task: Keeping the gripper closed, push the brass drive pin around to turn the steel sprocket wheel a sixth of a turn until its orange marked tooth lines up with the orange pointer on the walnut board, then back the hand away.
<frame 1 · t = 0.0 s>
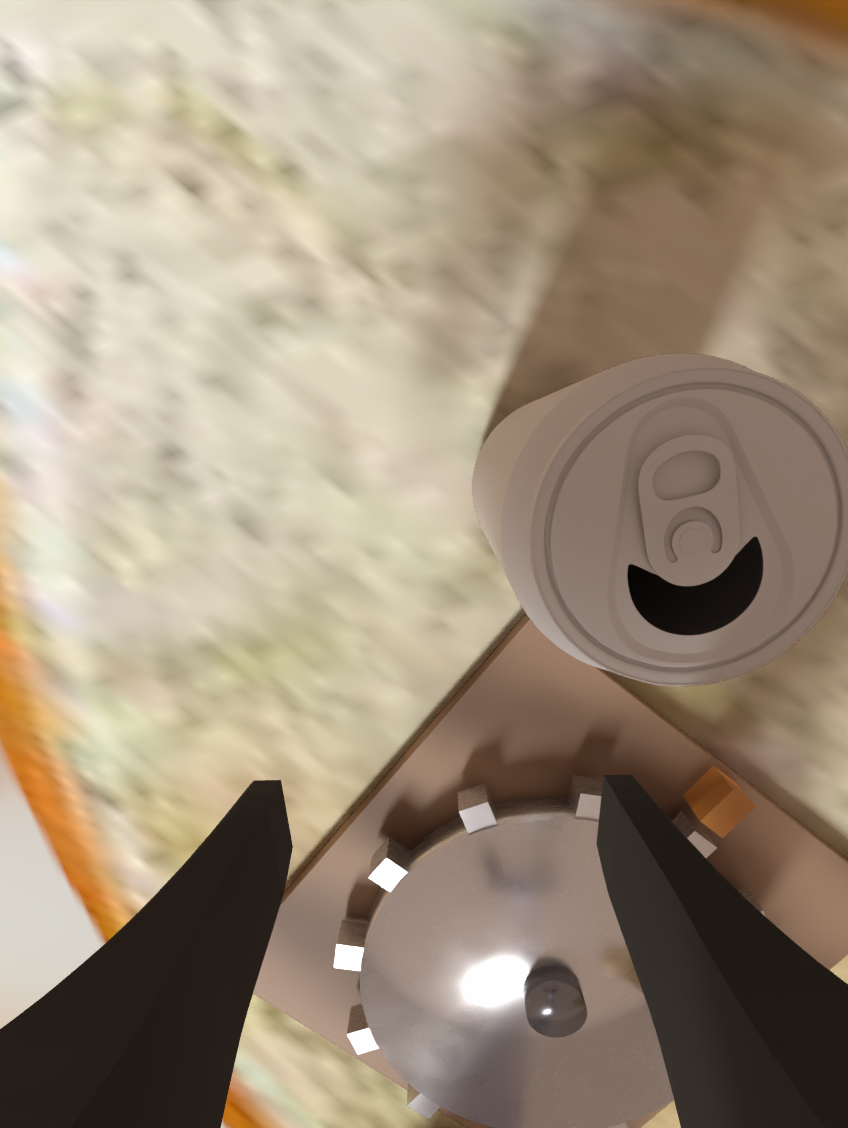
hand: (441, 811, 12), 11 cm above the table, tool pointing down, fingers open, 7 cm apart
beverage can: (553, 483, 21), on the table
walnut board: (540, 933, 26), on the table
sprocket wheel: (558, 1020, 22), point 4 cm above the table, hinge at 0.0°
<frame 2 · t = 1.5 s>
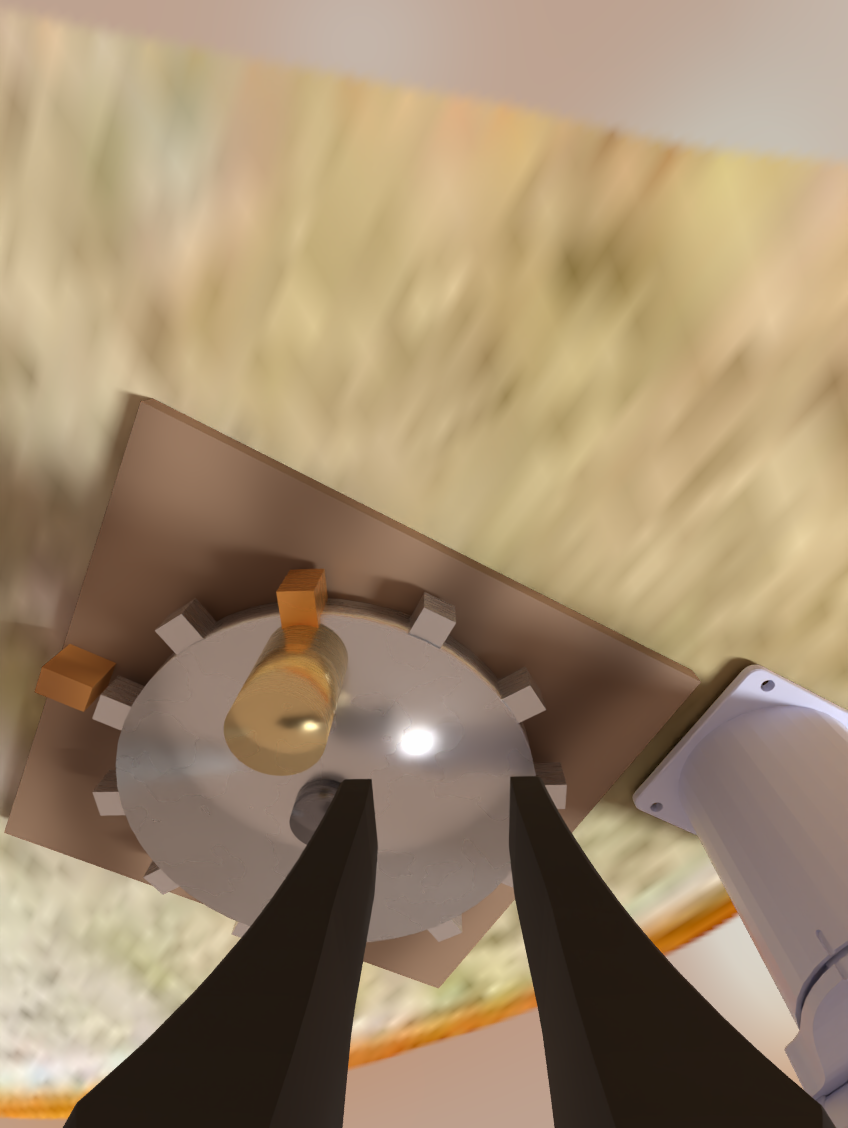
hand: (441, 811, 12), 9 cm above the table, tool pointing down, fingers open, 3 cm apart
walnut board: (338, 754, 24), on the table
sprocket wheel: (320, 830, 20), point 4 cm above the table, hinge at 0.0°
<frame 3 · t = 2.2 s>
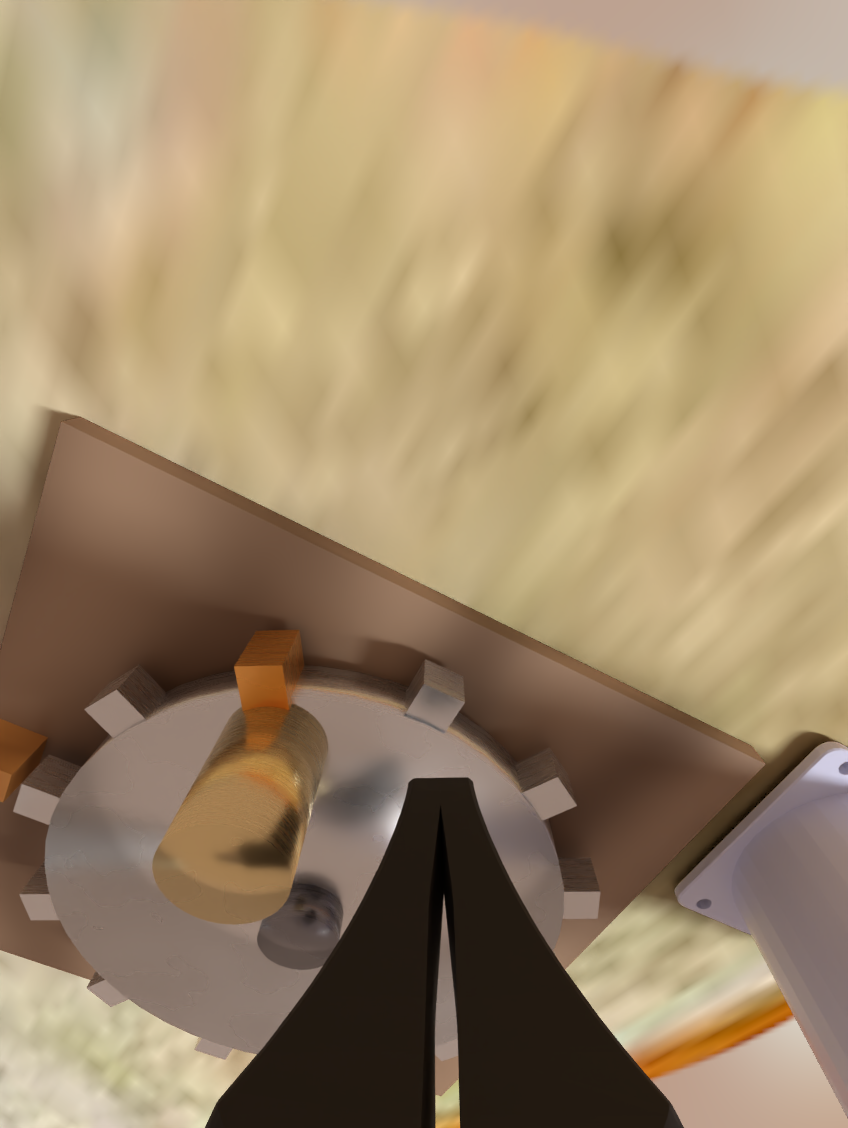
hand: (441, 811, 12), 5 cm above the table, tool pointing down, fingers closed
walnut board: (322, 838, 20), on the table
sprocket wheel: (295, 951, 16), point 4 cm above the table, hinge at 0.0°
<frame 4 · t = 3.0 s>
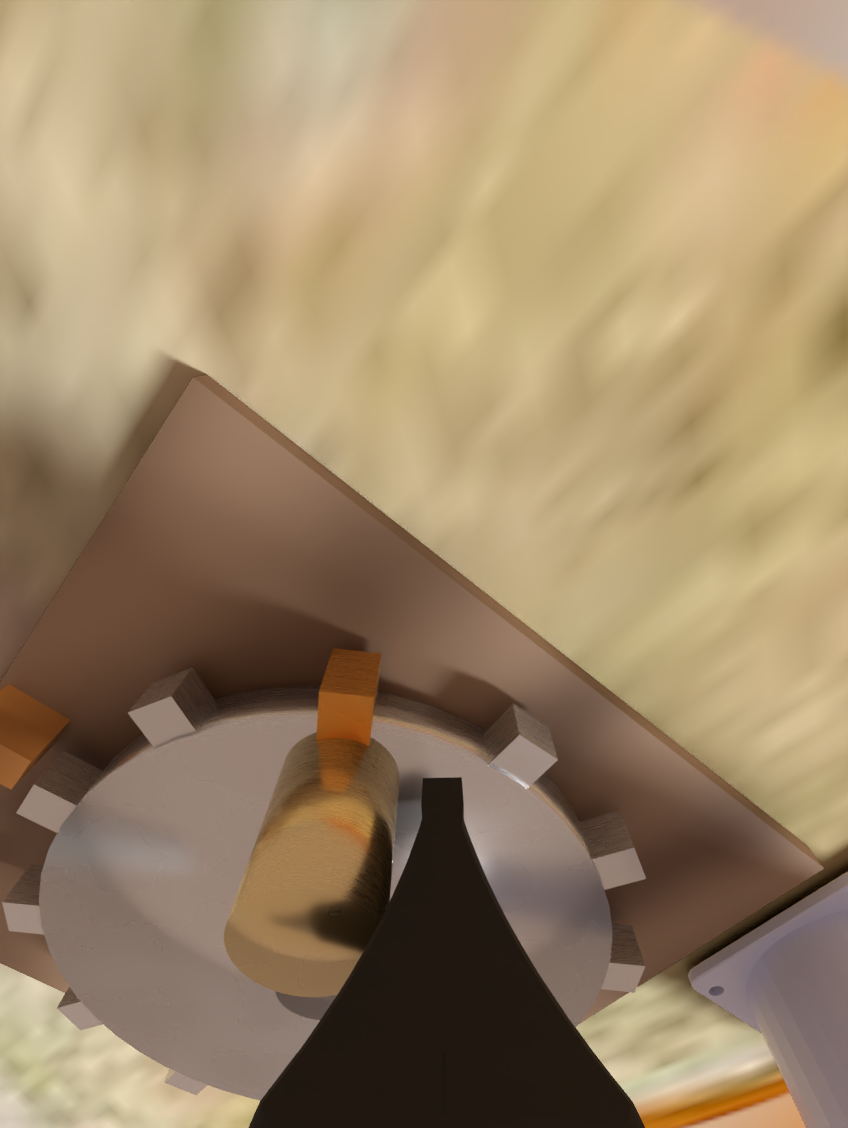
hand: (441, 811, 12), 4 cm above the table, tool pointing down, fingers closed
walnut board: (341, 869, 18), on the table
sprocket wheel: (318, 1002, 15), point 4 cm above the table, hinge at 2.8°, touching gripper
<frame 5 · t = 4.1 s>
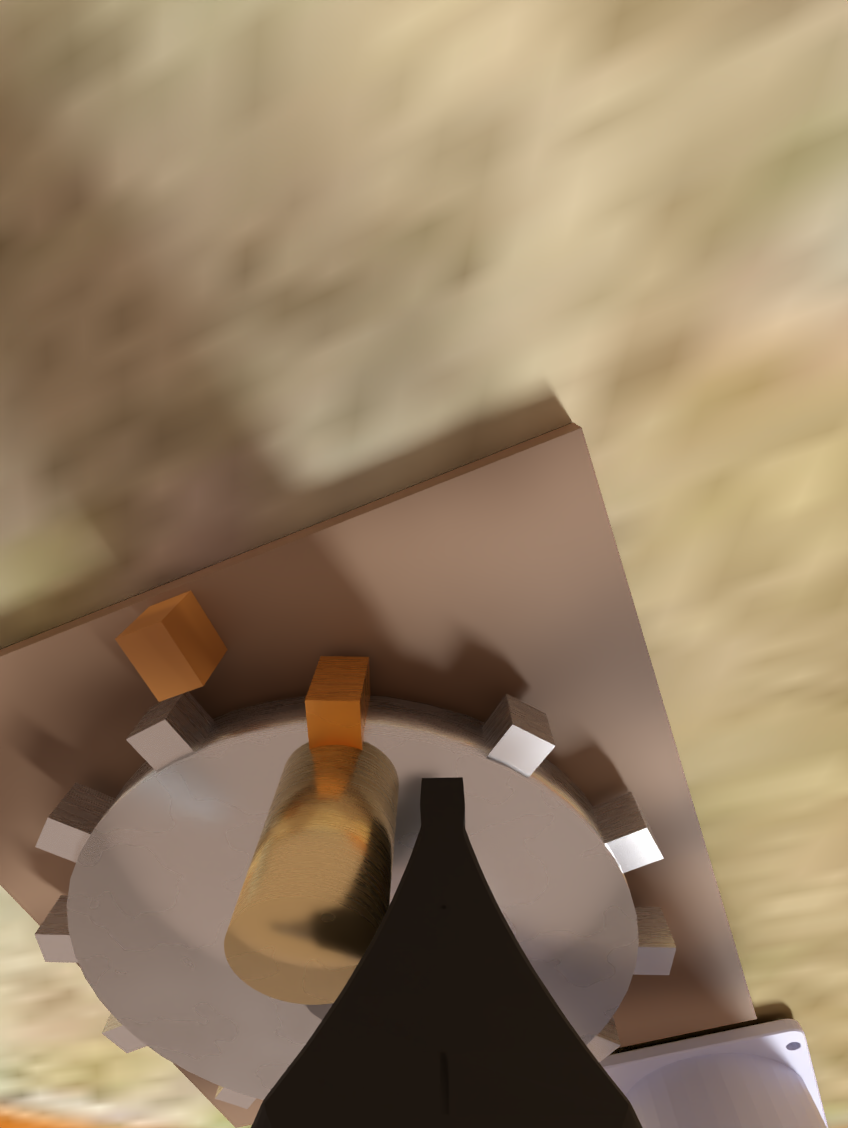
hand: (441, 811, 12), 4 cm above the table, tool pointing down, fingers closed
walnut board: (364, 875, 18), on the table
sprocket wheel: (346, 1009, 15), point 4 cm above the table, hinge at 37.6°, touching gripper
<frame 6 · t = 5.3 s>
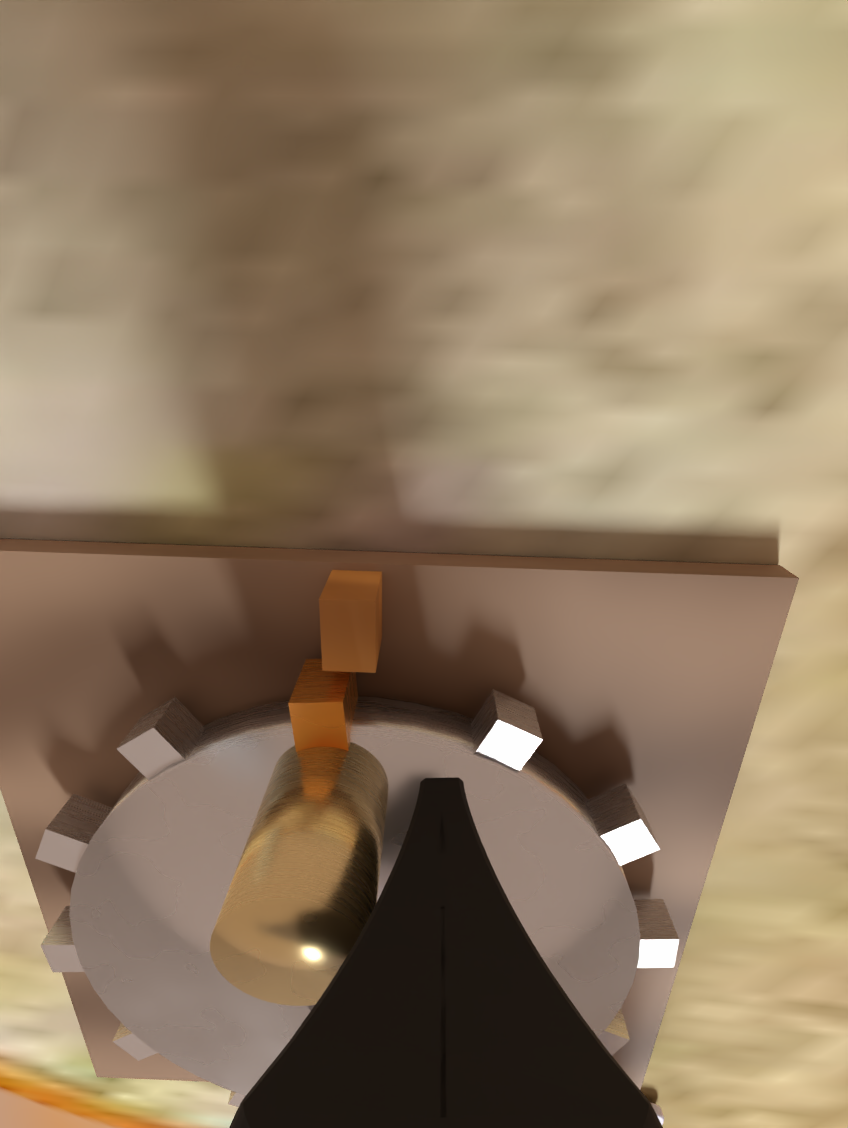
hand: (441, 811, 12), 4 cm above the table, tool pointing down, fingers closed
walnut board: (365, 876, 18), on the table
sprocket wheel: (348, 1010, 15), point 4 cm above the table, hinge at 64.1°, touching gripper
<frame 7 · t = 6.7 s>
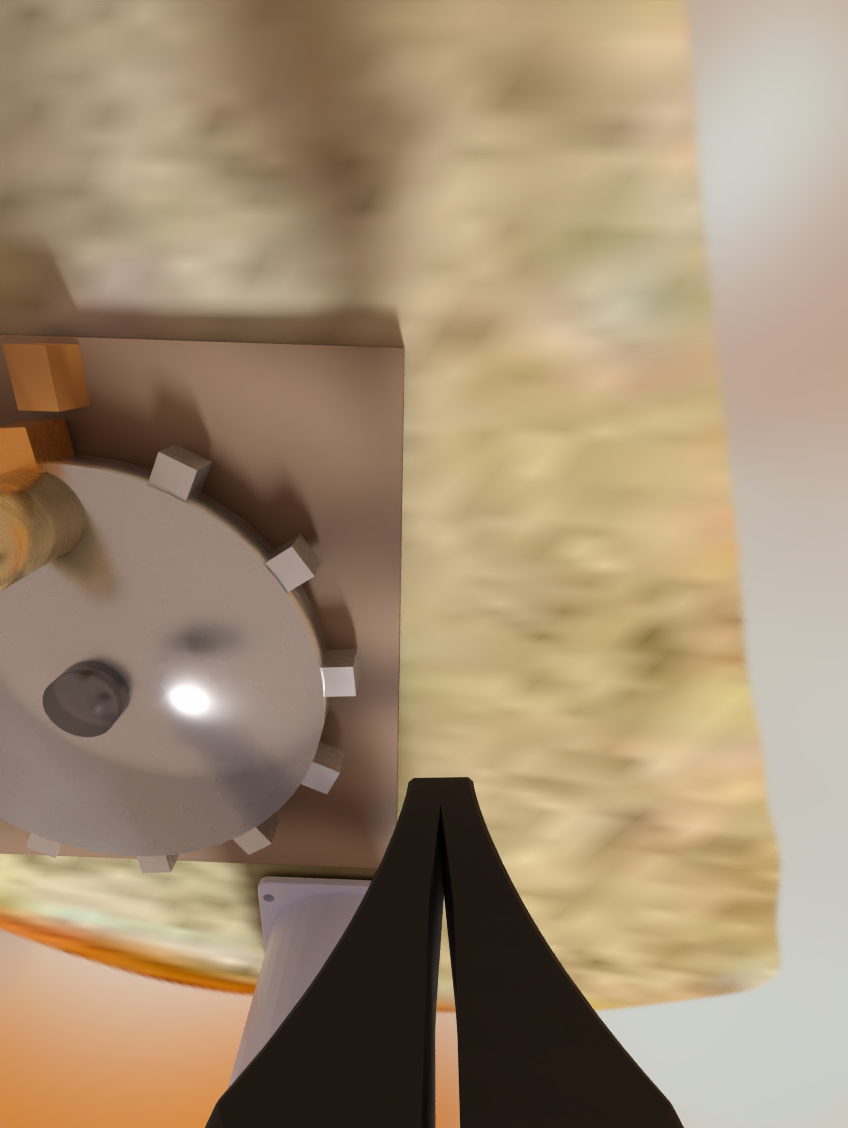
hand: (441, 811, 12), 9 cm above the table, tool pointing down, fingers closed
walnut board: (134, 650, 22), on the table
sprocket wheel: (74, 712, 18), point 4 cm above the table, hinge at 64.2°
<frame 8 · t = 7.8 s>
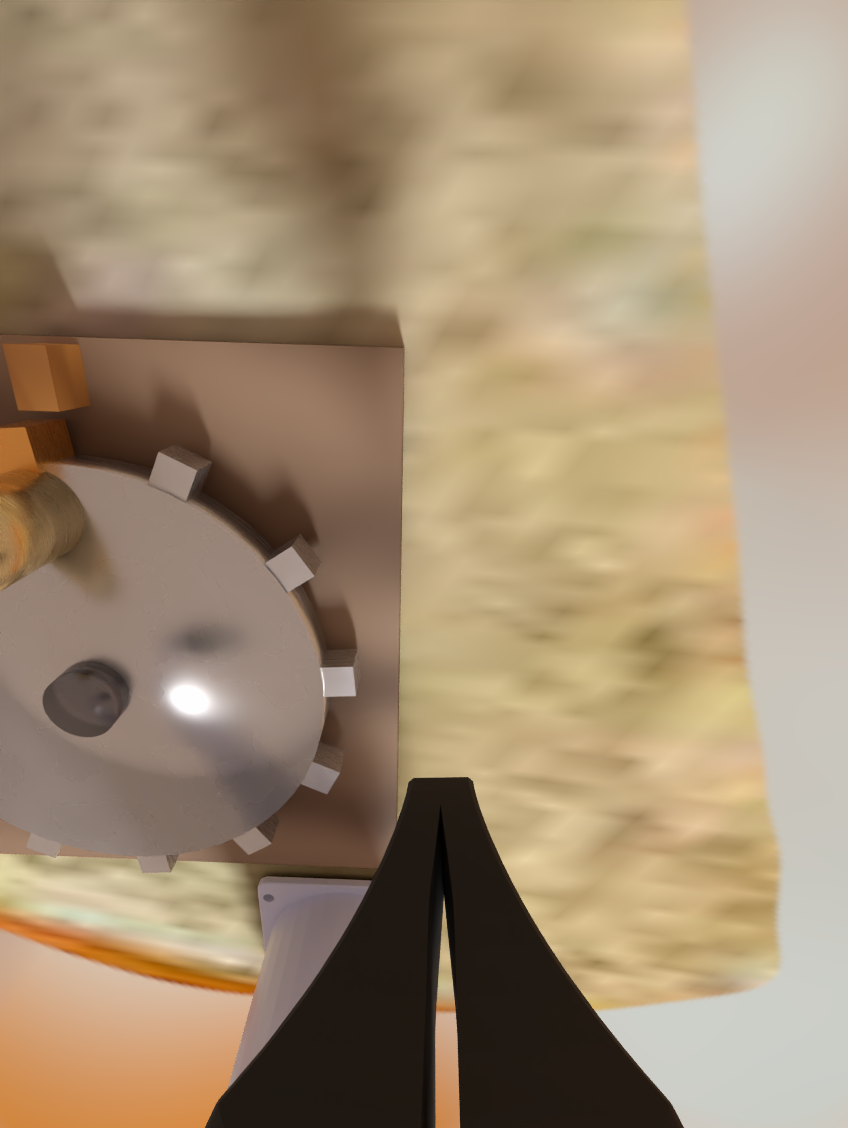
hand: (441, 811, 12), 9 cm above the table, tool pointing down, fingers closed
walnut board: (134, 650, 22), on the table
sprocket wheel: (74, 713, 18), point 4 cm above the table, hinge at 64.2°
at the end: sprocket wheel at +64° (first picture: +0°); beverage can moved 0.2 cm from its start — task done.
